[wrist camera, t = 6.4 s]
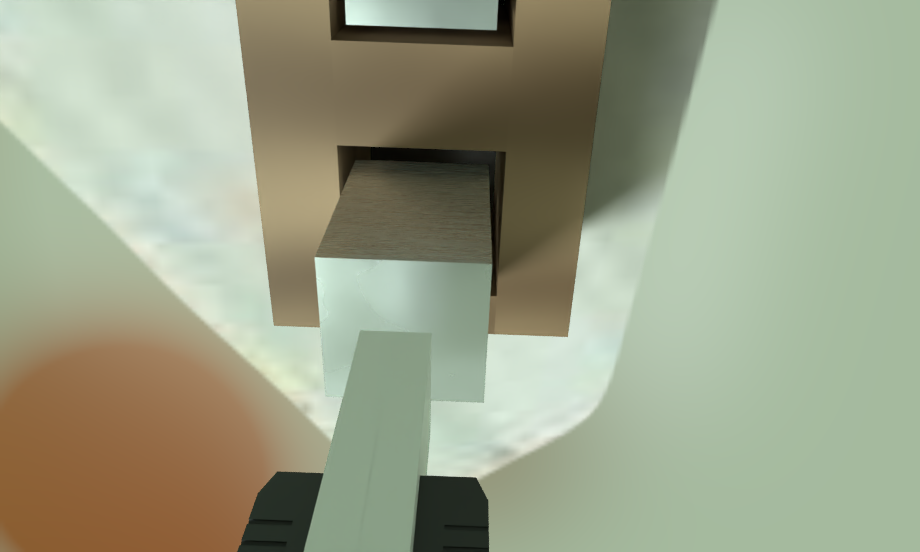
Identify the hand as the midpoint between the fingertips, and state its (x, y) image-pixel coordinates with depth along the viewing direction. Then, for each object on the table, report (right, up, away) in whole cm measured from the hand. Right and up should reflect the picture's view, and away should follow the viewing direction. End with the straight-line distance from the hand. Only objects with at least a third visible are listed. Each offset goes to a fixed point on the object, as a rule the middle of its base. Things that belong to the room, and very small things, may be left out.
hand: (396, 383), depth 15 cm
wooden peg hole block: (0, +11, +11) cm, 15 cm away
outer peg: (0, +4, +7) cm, 8 cm away
